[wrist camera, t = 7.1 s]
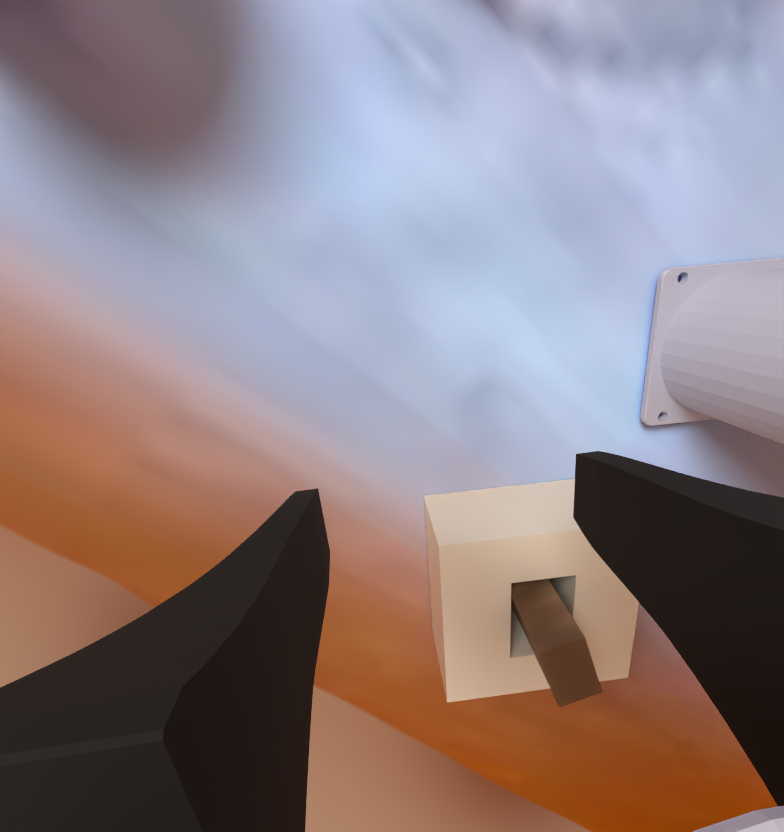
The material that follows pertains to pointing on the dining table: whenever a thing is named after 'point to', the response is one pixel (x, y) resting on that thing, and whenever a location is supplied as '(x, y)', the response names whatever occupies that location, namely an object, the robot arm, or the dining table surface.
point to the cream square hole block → (510, 563)
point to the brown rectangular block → (555, 641)
